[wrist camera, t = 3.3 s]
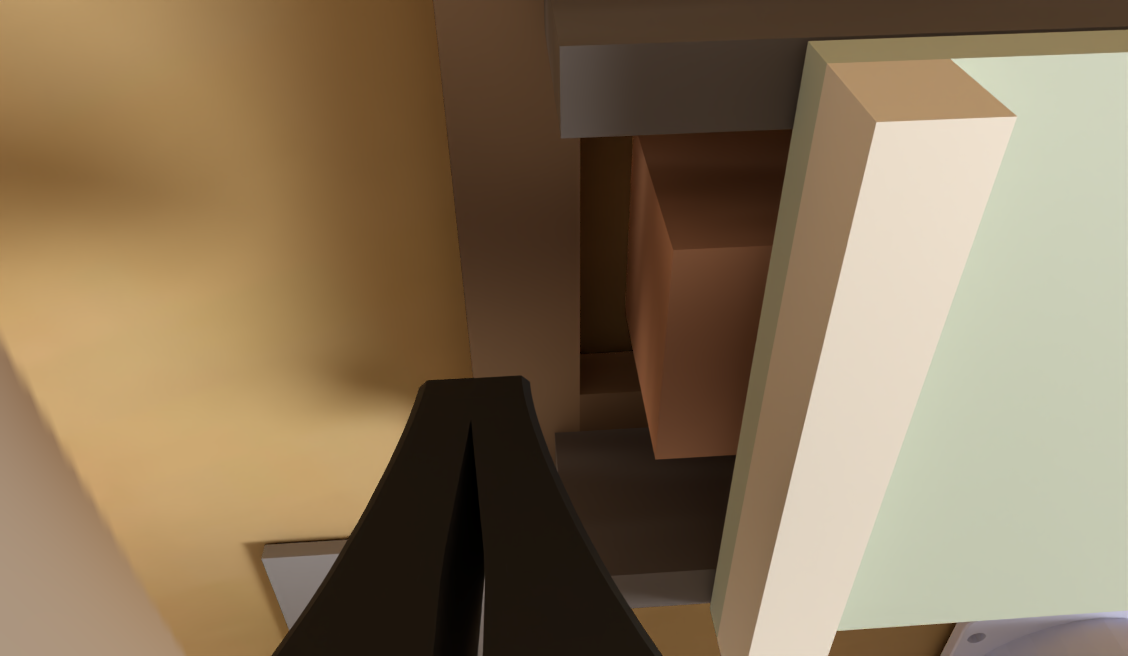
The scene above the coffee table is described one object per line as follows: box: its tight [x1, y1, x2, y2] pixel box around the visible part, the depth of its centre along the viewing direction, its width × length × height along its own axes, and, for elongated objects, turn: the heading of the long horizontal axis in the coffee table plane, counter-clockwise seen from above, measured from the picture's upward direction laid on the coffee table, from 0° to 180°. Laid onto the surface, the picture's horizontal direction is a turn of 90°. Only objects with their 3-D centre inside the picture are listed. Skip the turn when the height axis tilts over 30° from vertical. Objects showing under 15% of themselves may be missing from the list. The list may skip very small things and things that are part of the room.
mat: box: [261, 540, 485, 656], centre depth 22 cm, size 7×7×1 cm
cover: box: [710, 30, 1128, 656], centre depth 11 cm, size 10×9×2 cm
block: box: [625, 129, 793, 460], centre depth 14 cm, size 4×4×4 cm
